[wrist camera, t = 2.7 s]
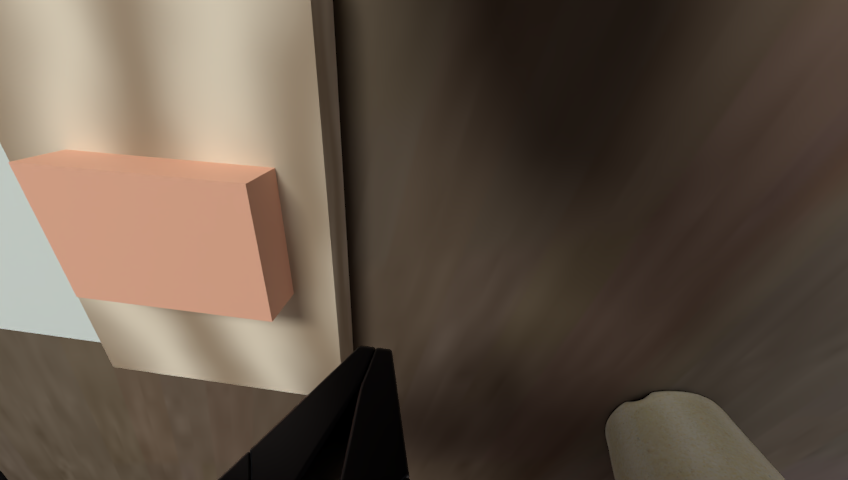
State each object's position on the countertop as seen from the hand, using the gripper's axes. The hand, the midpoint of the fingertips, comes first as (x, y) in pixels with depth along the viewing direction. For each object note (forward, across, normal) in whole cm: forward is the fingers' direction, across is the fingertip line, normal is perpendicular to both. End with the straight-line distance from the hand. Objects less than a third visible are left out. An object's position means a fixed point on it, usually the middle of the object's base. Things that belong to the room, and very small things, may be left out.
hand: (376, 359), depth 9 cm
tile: (+6, +10, 0) cm, 12 cm away
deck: (+8, +10, 0) cm, 13 cm away
